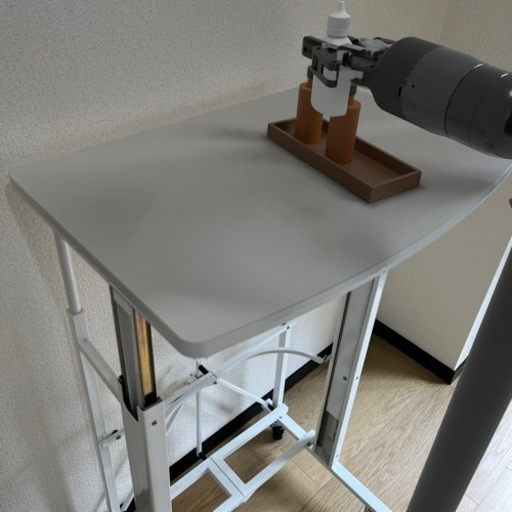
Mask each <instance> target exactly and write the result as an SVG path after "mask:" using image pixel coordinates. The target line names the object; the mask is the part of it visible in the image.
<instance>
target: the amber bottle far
mask: <svg viewBox="0 0 512 512" xmlns="http://www.w3.org/2000/svg"><path fill="white" fill-rule="evenodd" d="M310 70H311V65H308V66H307V69H306V78H307V79H306V80H307V81H304V82H301V83H300V84H299V86H298V96H297V104H296V105H297V106H296V115H295V117H296V124H295V134H294V138H296V139H298V140H299V141H301V142H303V143H304V144H315V143H318V142H319V141H320V137H321V129H322V121H323V118H324V114H322V113H320V112H318V111H317V110H315V109H314V107H313V106H312V104H311V94H312V84H313V75H314V74H313V73H312V72H311V71H310Z"/></svg>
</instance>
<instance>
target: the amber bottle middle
mask: <svg viewBox="0 0 512 512" xmlns="http://www.w3.org/2000/svg"><path fill="white" fill-rule="evenodd" d="M357 91H358V86H357V85H355V84H353V83H352V82H351V84H350V91H349V98H348V104H347V111H346V114H345V115H343V116H334V117H329V119H328V121H329V127H328V134H327V141H326V148H325V156H326V157H327V158H329V159H330V160H332V161H334V162H335V163H348V162H350V161H351V160H352V156H353V150H354V144H355V138H356V136H357V134H358V133H357V132H358V126H359V121H360V114H361V108H362V103H361V102H360V101H359V100H357V99H355V96H356V95H357Z"/></svg>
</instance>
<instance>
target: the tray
mask: <svg viewBox="0 0 512 512" xmlns="http://www.w3.org/2000/svg"><path fill="white" fill-rule="evenodd" d="M295 124H296V116H295V117H291V118H286V119H281V120H278V121H273V122H268V123H267V128H266V129H267V131H266V138H267V139H269V140H270V141H272V142H273V143H275V144H276V145H278V146H280V147H281V148H283V150H286V151H288V152H289V153H291V154H293V155H294V156H295V157H297V158H299V160H301V161H303V162H304V163H306V164H308V165H309V166H310V167H312V168H314V169H316V170H317V171H319V173H322V174H323V175H325V176H326V177H328V178H329V179H331V180H333V181H334V182H335V183H338V184H339V185H340V186H342V187H343V188H345V189H346V190H348V191H350V192H351V193H352V194H354V195H356V196H358V197H359V198H361V199H362V200H364V201H365V202H367V203H368V204H371V203H374V202H377V201H379V200H383V199H386V198H389V197H391V196H395V195H397V194H400V193H403V192H406V191H408V190H412V189H415V188H418V187H419V186H420V183H421V182H420V181H421V178H422V175H423V171H422V170H421V169H419V168H417V167H415V166H413V165H412V164H409V163H408V162H406V161H404V160H402V159H401V158H398V157H397V156H395V155H393V154H391V153H390V152H387V151H386V150H383V149H382V148H380V147H378V146H376V145H375V144H372V143H371V142H369V141H367V140H365V139H364V138H361V137H360V136H359V135H356V138H355V144H354V150H353V156H352V160H351V161H350V162H348V163H335V162H334V161H332V160H330V159H329V158H327V157H326V156H325V148H326V141H327V134H328V127H329V119H326V118H325V117H323V121H322V129H321V137H320V141H319V142H318V143H315V144H304V143H303V142H301V141H299V140H298V139H296V138H294V134H295Z"/></svg>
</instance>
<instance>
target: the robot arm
mask: <svg viewBox="0 0 512 512" xmlns="http://www.w3.org/2000/svg"><path fill="white" fill-rule="evenodd" d="M347 37H348V38H349V40H350V41H351V43H352V44H349V43H346V44H343V45H340V46H338V45H334V44H330V43H328V42H325V41H323V40H320V38H318V37H315V36H313V35H306V36H305V35H304V36H303V37H302V43H301V55H302V56H303V57H304V58H307V59H309V60H311V70H310V71H311V72H312V73H313V74H314V75H315V76H316V77H317V78H318V79H319V80H320V81H321V82H322V83H323V84H324V85H325V86H326V87H329V88H336V87H337V84H338V80H346V81H350V82H352V83H353V84H355V85H357V88H361V89H365V90H369V91H370V93H371V95H372V97H373V101H374V102H375V104H376V106H377V107H378V108H379V109H380V110H381V111H383V112H386V113H388V114H389V115H392V116H394V117H396V118H399V119H401V120H403V121H405V122H407V123H409V124H412V125H414V126H416V127H418V128H420V129H422V130H424V131H426V132H429V133H431V134H433V135H437V136H440V137H445V138H447V139H450V140H452V141H455V142H456V143H459V144H461V145H463V146H466V147H467V148H470V149H472V150H474V151H476V152H479V153H482V154H484V155H487V156H488V157H493V158H496V159H503V160H511V161H512V71H510V70H507V69H504V68H502V67H498V66H495V65H492V64H490V63H486V62H484V61H483V60H481V59H479V58H477V57H475V56H473V55H471V54H468V53H466V52H462V51H459V50H457V49H453V48H451V47H448V46H444V45H442V44H438V43H435V42H431V41H429V40H426V39H423V38H419V37H417V36H406V37H402V38H400V39H398V40H394V39H389V38H384V37H381V36H376V37H375V36H374V37H373V38H372V39H369V38H367V37H364V36H361V37H355V36H352V35H349V34H348V35H347ZM332 52H333V53H336V54H337V58H335V57H334V56H333V55H332ZM349 53H351V55H350V56H349Z"/></svg>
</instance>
